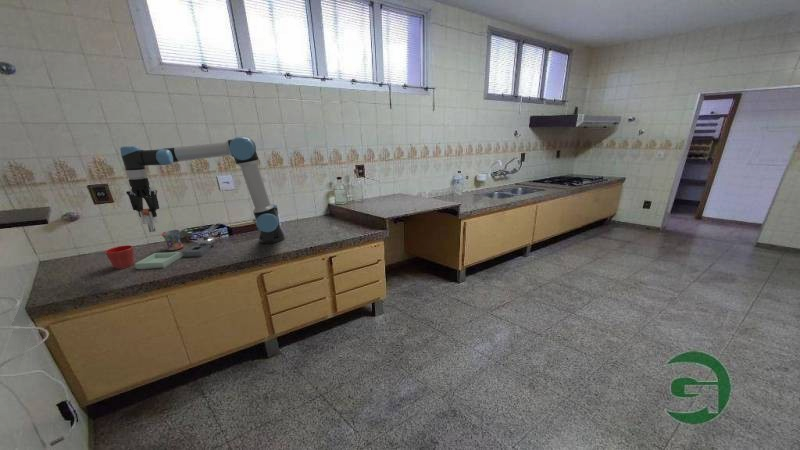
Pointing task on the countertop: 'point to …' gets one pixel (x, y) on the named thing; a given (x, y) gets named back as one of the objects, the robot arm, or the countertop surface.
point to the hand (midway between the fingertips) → (150, 222)
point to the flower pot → (121, 256)
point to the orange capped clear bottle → (148, 220)
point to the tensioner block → (199, 247)
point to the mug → (172, 239)
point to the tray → (158, 260)
